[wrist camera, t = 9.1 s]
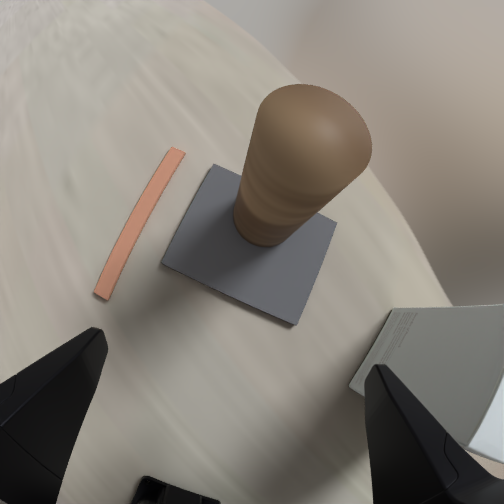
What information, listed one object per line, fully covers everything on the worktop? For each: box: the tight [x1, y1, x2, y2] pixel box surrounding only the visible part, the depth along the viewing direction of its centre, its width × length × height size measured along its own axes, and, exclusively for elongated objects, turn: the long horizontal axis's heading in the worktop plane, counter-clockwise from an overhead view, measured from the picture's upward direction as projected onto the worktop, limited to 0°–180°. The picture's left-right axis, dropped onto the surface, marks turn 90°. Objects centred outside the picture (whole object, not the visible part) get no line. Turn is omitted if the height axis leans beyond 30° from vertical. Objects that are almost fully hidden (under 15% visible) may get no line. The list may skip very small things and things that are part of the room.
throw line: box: [94, 147, 185, 300], centre depth 19 cm, size 12×1×1 cm, turn 156°
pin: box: [233, 84, 372, 247], centre depth 15 cm, size 4×4×11 cm
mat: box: [161, 164, 337, 325], centre depth 20 cm, size 8×10×1 cm
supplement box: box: [349, 304, 504, 464], centre depth 14 cm, size 7×7×13 cm
